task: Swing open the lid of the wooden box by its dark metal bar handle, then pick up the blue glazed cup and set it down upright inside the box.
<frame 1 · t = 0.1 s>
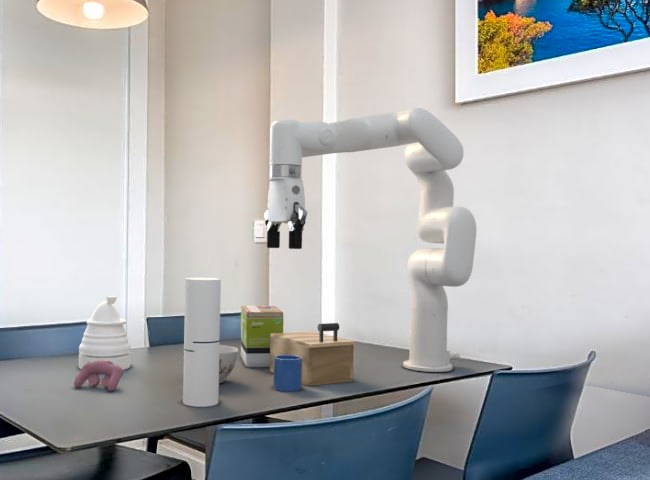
hand: (283, 248, 157), 31 cm above the table, tool pointing down, fingers open, 9 cm apart
lid: (312, 330, 164), point 11 cm above the table, hinge at 0.0°
wooden box: (310, 376, 164), on the table
teacup: (208, 381, 157), on the table
tea box: (260, 363, 182), on the table
cup: (287, 388, 151), on the table
honey pot: (104, 367, 172), on the table
video game controller: (98, 388, 148), on the table
cylindrical container: (200, 403, 136), on the table
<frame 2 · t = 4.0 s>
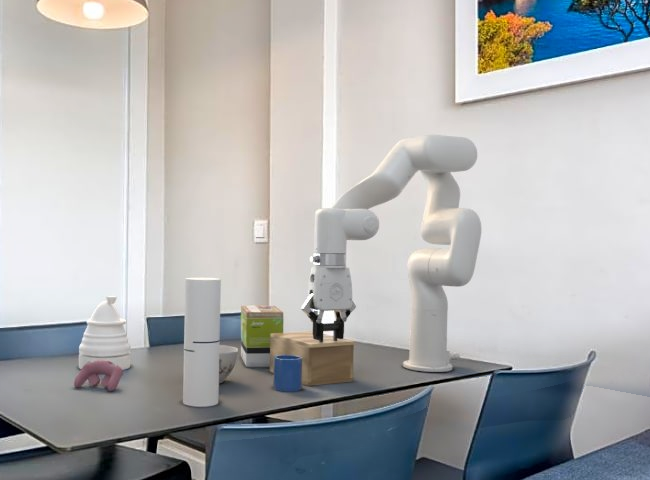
hand: (328, 338, 158), 10 cm above the table, tool pointing down, fingers closed on lid, 5 cm apart
lid: (312, 330, 164), point 11 cm above the table, hinge at 0.0°, touching gripper
everything else where it was.
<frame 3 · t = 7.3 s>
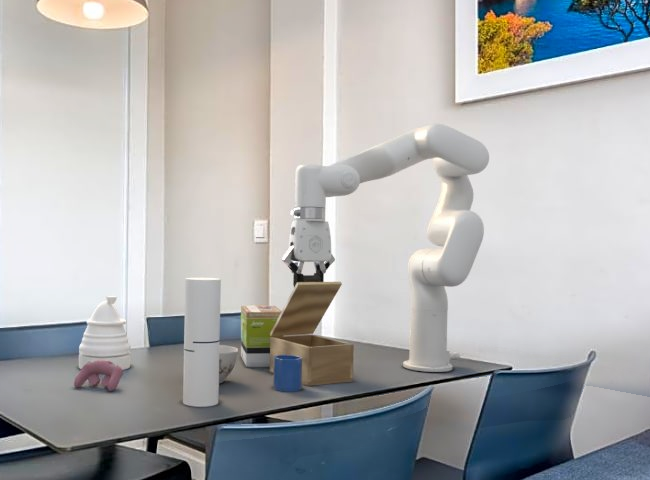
hand: (308, 288, 165), 21 cm above the table, tool pointing down, fingers closed on lid, 5 cm apart
lid: (302, 303, 168), point 18 cm above the table, hinge at 48.5°, touching gripper
everything else where it was.
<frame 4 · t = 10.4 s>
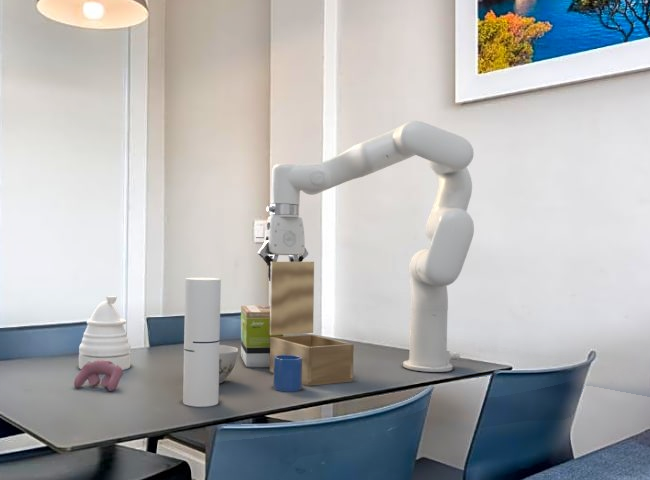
hand: (282, 280, 176), 22 cm above the table, tool pointing down, fingers closed on lid, 5 cm apart
lid: (287, 297, 174), point 18 cm above the table, hinge at 90.7°, touching gripper
everything else where it was.
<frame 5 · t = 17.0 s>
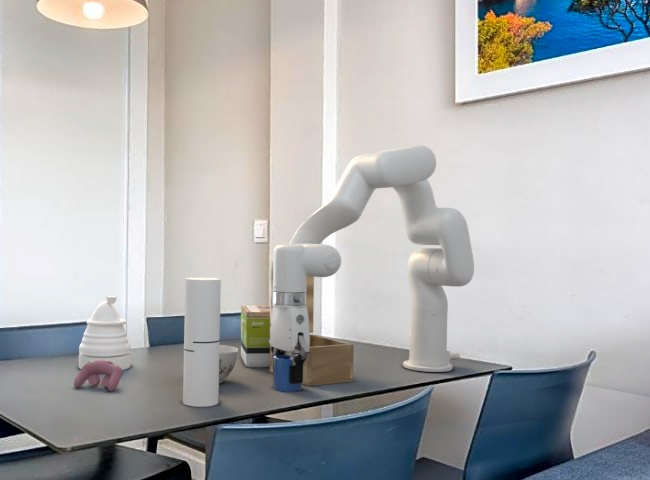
hand: (287, 379, 151), 2 cm above the table, tool pointing down, fingers closed on cup, 6 cm apart
lid: (287, 297, 174), point 18 cm above the table, hinge at 90.9°
cup: (287, 388, 151), on the table, touching gripper
everything else where it was.
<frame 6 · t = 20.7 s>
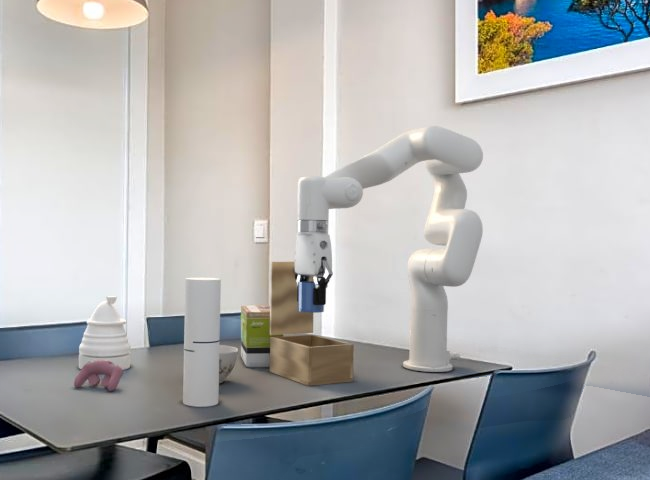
hand: (311, 302, 162), 18 cm above the table, tool pointing down, fingers closed on cup, 6 cm apart
cup: (310, 311, 162), point 16 cm above the table, touching gripper
everything else where it was.
when the fingers open (3 cm above the table, at t = 24.8 s): cup stays where it is, resting on wooden box.
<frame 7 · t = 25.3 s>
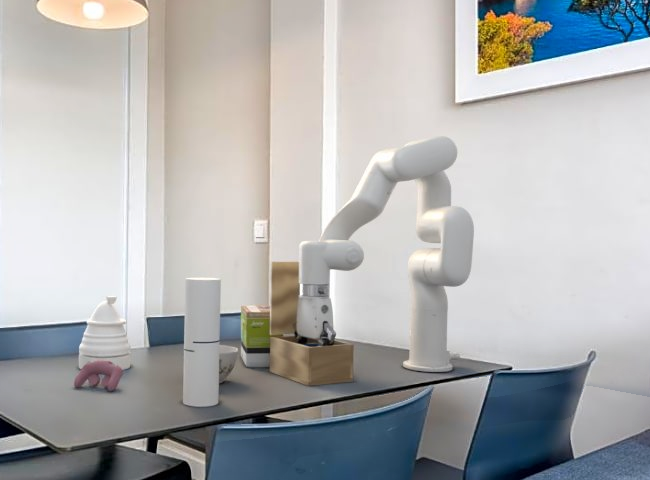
hand: (313, 362, 164), 4 cm above the table, tool pointing down, fingers open, 9 cm apart
cup: (311, 374, 163), point 1 cm above the table, touching wooden box
everything else where it was.
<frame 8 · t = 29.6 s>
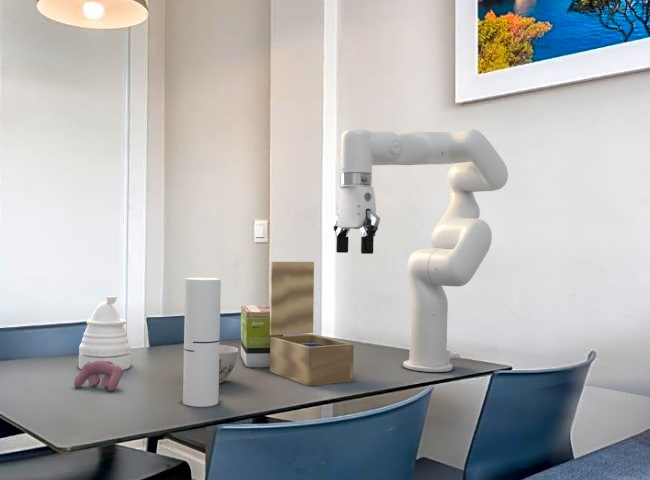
hand: (354, 253, 162), 30 cm above the table, tool pointing down, fingers open, 9 cm apart
nothing on the table moved.
at the end: lid at +91° (first picture: +0°); cup inside the target area in the wooden box (1.0 cm from its centre), point 0.8 cm above the wooden box's base; cup tilted 0° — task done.
